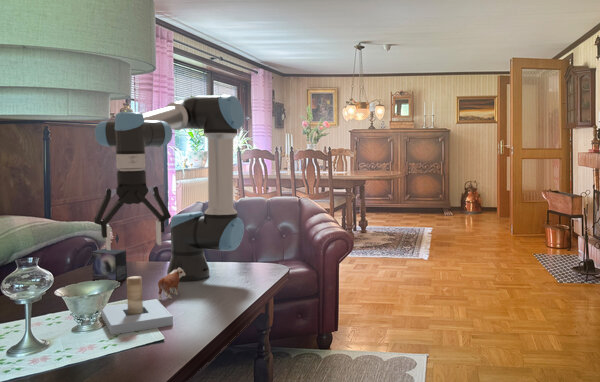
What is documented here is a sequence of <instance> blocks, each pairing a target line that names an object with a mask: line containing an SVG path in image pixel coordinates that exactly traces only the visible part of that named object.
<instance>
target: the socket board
mask: <svg viewBox="0 0 600 382" xmlns="http://www.w3.org/2000/svg"><path fill="white" fill-rule="evenodd" d="M100 316H101V318H102V320H103V322H104V321H105V322H104V324H105V323H106V324H105V325H107V326H106V327H107V329H108V331H109V333H110V335H111V336H113V335H114V336H115V335H120V333H121V334H125V333H133V332H139V331H144V330H150V329H156V328H158V329H159V328H162V327H163V328H165V327H169V326H174V316H173V314H171V313H170V312H169V311H168V309H167V308H166V307H165V306H164V305H163V304H162V303H161V301H160V300H159V299H157V298H155V299H149V300H148V299H147V300H143V314H137V315H130V316H128V302H127V303H119V304H112V305H105V308H104V309H103V310H102V311H101V310H100Z"/></svg>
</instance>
